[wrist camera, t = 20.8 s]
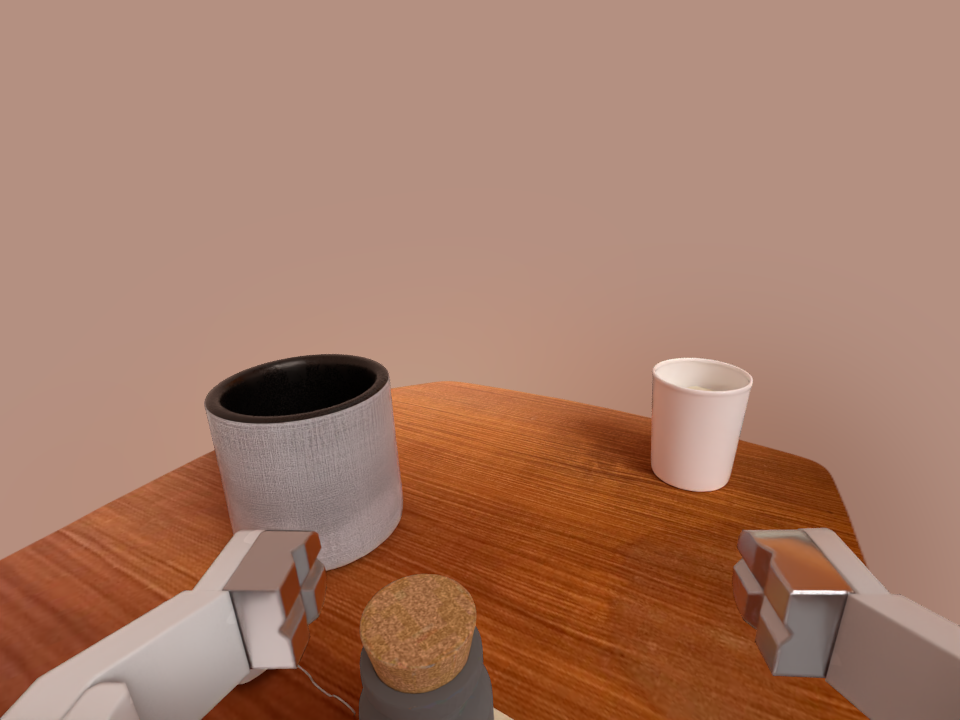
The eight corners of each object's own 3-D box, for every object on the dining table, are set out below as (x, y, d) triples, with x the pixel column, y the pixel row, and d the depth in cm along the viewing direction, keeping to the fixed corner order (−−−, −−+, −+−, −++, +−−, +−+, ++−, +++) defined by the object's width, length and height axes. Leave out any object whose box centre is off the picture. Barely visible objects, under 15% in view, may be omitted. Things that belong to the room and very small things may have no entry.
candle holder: (626, 470, 59) (633, 373, 55) (672, 441, 65) (682, 351, 61) (709, 508, 52) (724, 400, 48) (752, 472, 58) (769, 373, 54)
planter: (226, 604, 42) (182, 437, 37) (247, 496, 57) (218, 364, 51) (418, 558, 47) (403, 402, 41) (392, 468, 61) (379, 344, 56)
